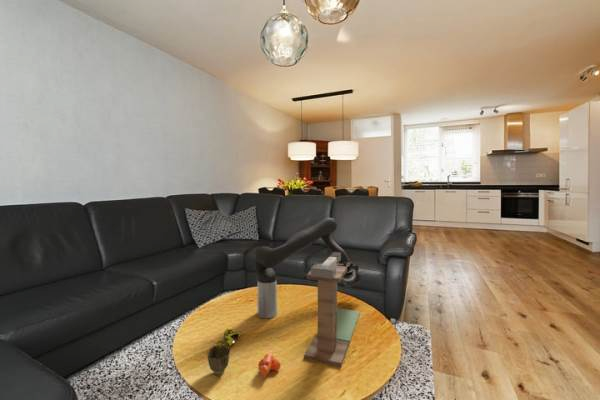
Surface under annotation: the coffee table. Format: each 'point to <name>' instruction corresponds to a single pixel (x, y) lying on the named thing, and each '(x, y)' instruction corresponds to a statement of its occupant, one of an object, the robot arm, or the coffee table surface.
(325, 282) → the stand
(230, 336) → the toy motorcycle
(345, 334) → the mat
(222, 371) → the cup
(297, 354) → the coffee table surface
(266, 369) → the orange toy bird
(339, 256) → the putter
